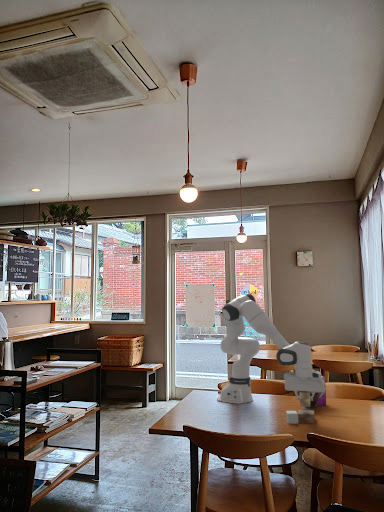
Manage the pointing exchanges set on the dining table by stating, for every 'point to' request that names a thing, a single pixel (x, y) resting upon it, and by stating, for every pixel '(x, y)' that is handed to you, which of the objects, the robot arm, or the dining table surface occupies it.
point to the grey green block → (292, 417)
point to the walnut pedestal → (306, 416)
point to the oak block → (304, 399)
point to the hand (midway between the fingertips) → (305, 400)
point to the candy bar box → (322, 396)
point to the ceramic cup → (312, 402)
